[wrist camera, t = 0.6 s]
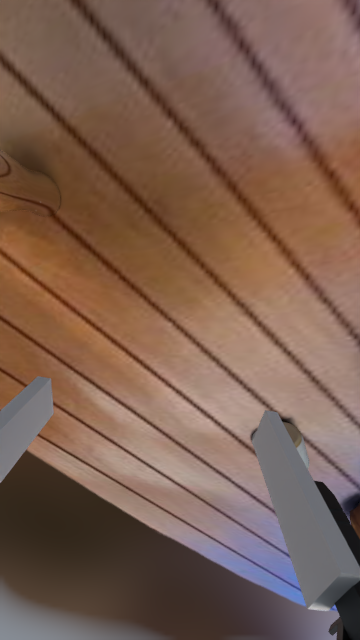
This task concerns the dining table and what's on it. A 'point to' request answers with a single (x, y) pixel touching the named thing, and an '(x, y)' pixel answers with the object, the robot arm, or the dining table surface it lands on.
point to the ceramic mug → (296, 441)
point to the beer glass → (26, 189)
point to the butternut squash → (355, 519)
